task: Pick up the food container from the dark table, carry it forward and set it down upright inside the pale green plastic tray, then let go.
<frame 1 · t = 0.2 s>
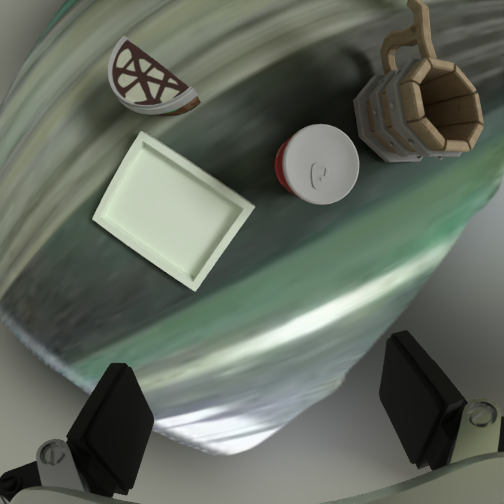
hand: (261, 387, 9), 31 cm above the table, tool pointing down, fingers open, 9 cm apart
canned food: (302, 165, 37), on the table
food container: (161, 99, 34), on the table
tankard: (389, 95, 34), on the table
tray: (170, 210, 38), on the table
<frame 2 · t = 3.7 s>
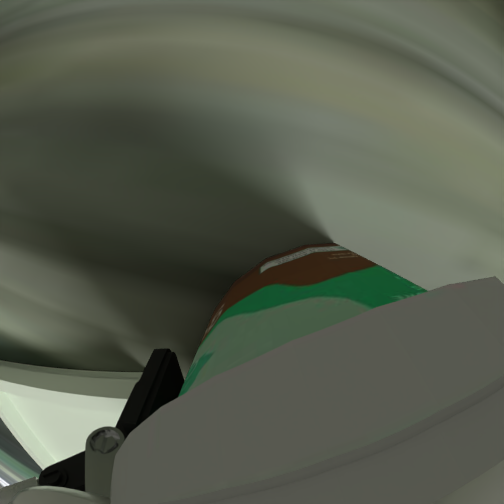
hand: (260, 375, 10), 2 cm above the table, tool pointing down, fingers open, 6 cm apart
food container: (251, 345, 12), on the table, touching gripper
tray: (106, 460, 15), on the table
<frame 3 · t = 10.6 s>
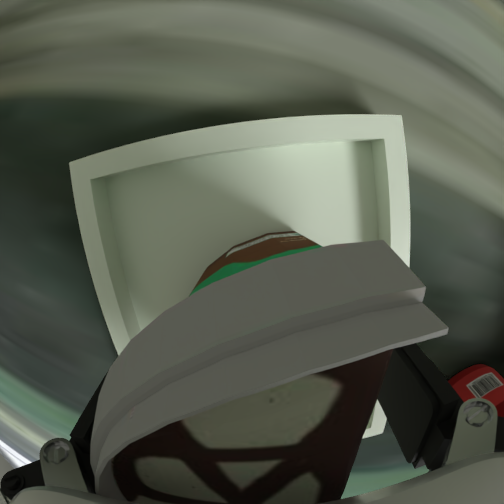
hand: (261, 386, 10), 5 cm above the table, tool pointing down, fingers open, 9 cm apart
canned food: (455, 397, 17), on the table
food container: (225, 325, 14), point 1 cm above the table, touching tray
tray: (257, 319, 14), on the table
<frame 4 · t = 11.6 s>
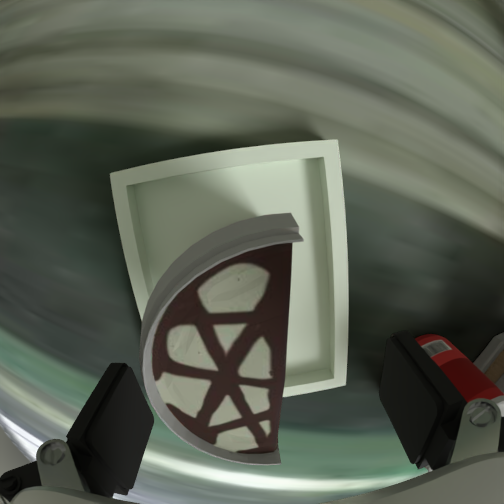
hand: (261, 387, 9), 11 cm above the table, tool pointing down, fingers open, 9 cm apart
canned food: (414, 364, 23), on the table
food container: (217, 289, 20), point 1 cm above the table, touching tray
tray: (241, 286, 20), on the table
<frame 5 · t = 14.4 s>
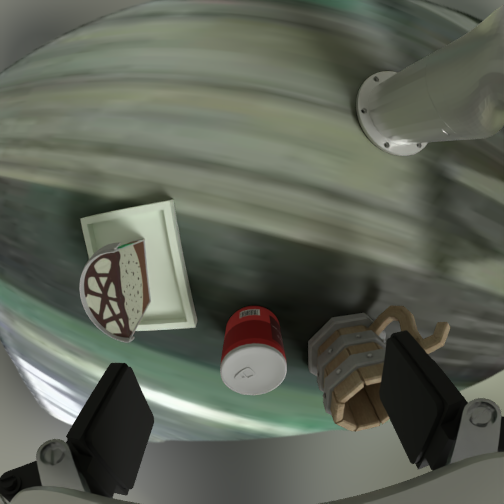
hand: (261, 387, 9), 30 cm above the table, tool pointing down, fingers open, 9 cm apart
canned food: (252, 326, 43), on the table
food container: (128, 270, 40), resting on tray
tankard: (361, 331, 44), on the table
tray: (139, 269, 40), on the table
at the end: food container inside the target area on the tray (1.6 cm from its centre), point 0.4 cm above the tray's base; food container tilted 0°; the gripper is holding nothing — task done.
